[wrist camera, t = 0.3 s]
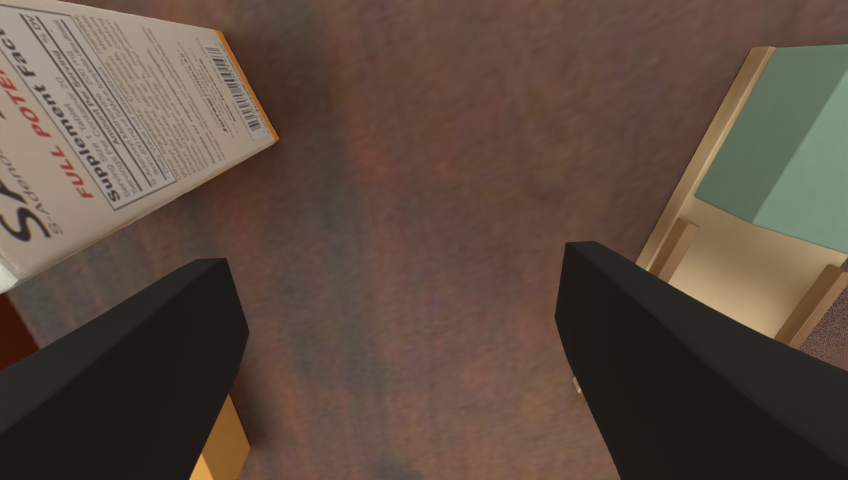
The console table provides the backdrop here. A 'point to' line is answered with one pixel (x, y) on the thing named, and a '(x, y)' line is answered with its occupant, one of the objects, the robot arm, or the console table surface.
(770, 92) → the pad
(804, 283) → the assembly board
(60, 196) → the supplement box
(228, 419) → the orange block
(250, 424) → the console table surface
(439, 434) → the console table surface
